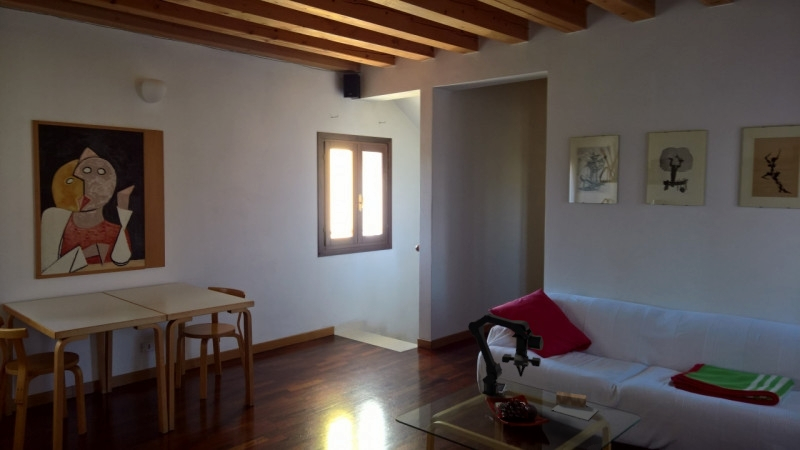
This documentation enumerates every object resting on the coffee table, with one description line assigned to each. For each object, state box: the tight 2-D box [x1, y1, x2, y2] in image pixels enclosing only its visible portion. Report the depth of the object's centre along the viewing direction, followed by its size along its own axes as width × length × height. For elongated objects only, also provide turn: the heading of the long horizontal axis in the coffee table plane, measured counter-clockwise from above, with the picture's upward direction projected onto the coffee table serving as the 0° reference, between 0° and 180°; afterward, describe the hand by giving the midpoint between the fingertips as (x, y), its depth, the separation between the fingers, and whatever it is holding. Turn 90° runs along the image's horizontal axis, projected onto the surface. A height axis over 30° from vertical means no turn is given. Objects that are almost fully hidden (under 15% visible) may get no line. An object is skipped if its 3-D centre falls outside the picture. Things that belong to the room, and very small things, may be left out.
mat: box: [551, 404, 599, 422], centre depth 288 cm, size 18×14×1 cm
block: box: [555, 391, 587, 408], centre depth 294 cm, size 4×4×14 cm
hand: (520, 376), depth 299 cm, fingers closed
